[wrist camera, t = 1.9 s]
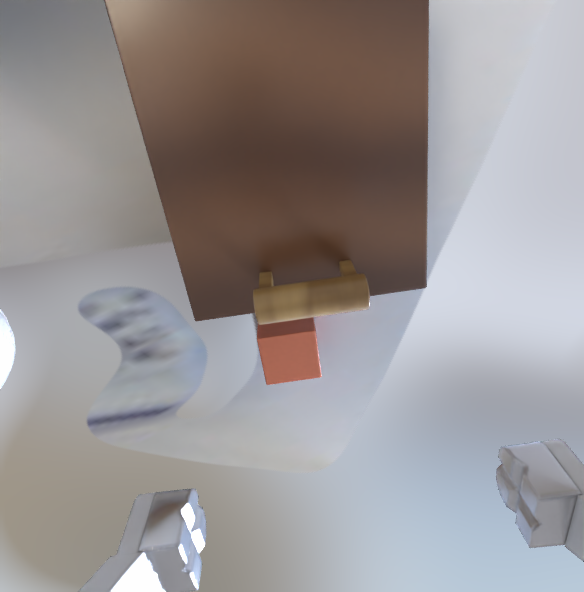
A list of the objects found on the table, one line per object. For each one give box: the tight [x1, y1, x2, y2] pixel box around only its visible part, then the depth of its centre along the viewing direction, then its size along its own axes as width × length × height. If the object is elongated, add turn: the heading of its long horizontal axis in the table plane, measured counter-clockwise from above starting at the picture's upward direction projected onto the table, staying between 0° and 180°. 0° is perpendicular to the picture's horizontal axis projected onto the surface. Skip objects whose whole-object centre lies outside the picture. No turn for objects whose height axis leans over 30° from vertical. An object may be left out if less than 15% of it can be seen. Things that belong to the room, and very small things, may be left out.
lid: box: [104, 0, 429, 325], centre depth 19 cm, size 17×14×5 cm
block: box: [257, 317, 322, 385], centre depth 35 cm, size 4×4×4 cm
